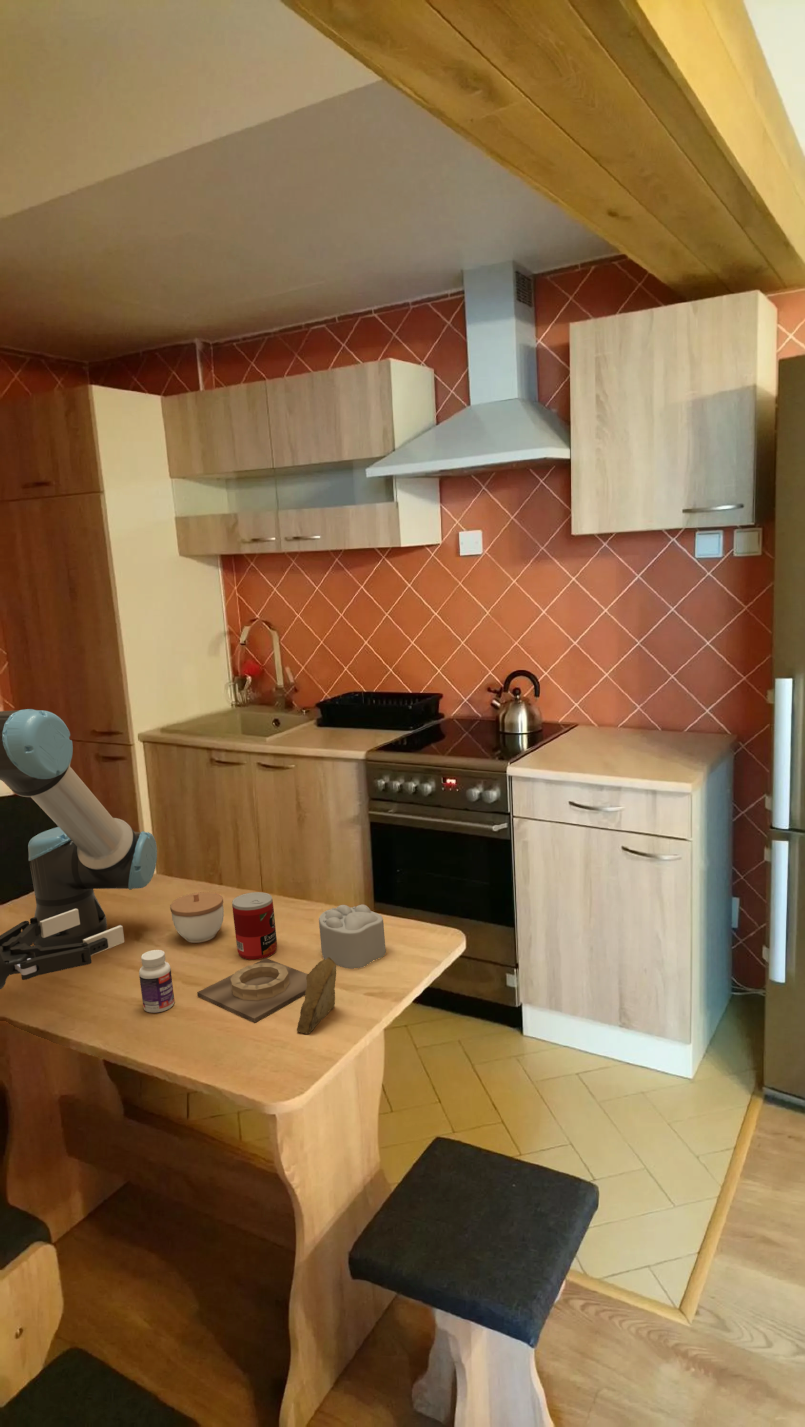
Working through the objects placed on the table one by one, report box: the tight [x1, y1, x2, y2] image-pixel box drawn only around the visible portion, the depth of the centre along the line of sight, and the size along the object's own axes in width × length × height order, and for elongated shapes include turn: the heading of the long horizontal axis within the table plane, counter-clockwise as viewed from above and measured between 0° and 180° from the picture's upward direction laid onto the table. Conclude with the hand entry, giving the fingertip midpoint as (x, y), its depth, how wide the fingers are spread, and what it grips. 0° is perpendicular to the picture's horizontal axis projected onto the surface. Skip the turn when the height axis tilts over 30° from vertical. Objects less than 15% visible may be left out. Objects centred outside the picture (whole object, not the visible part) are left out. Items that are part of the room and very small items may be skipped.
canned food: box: [231, 891, 278, 961], centre depth 174 cm, size 8×8×11 cm
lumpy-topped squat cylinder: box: [318, 903, 387, 970], centre depth 171 cm, size 10×13×9 cm
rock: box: [296, 957, 337, 1034], centre depth 148 cm, size 11×9×10 cm
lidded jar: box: [169, 891, 225, 944], centre depth 184 cm, size 11×11×9 cm
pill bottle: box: [138, 949, 175, 1014], centre depth 156 cm, size 5×5×10 cm
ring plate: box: [196, 957, 308, 1024], centre depth 159 cm, size 16×16×3 cm
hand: (99, 924), depth 147 cm, fingers open, 13 cm apart
